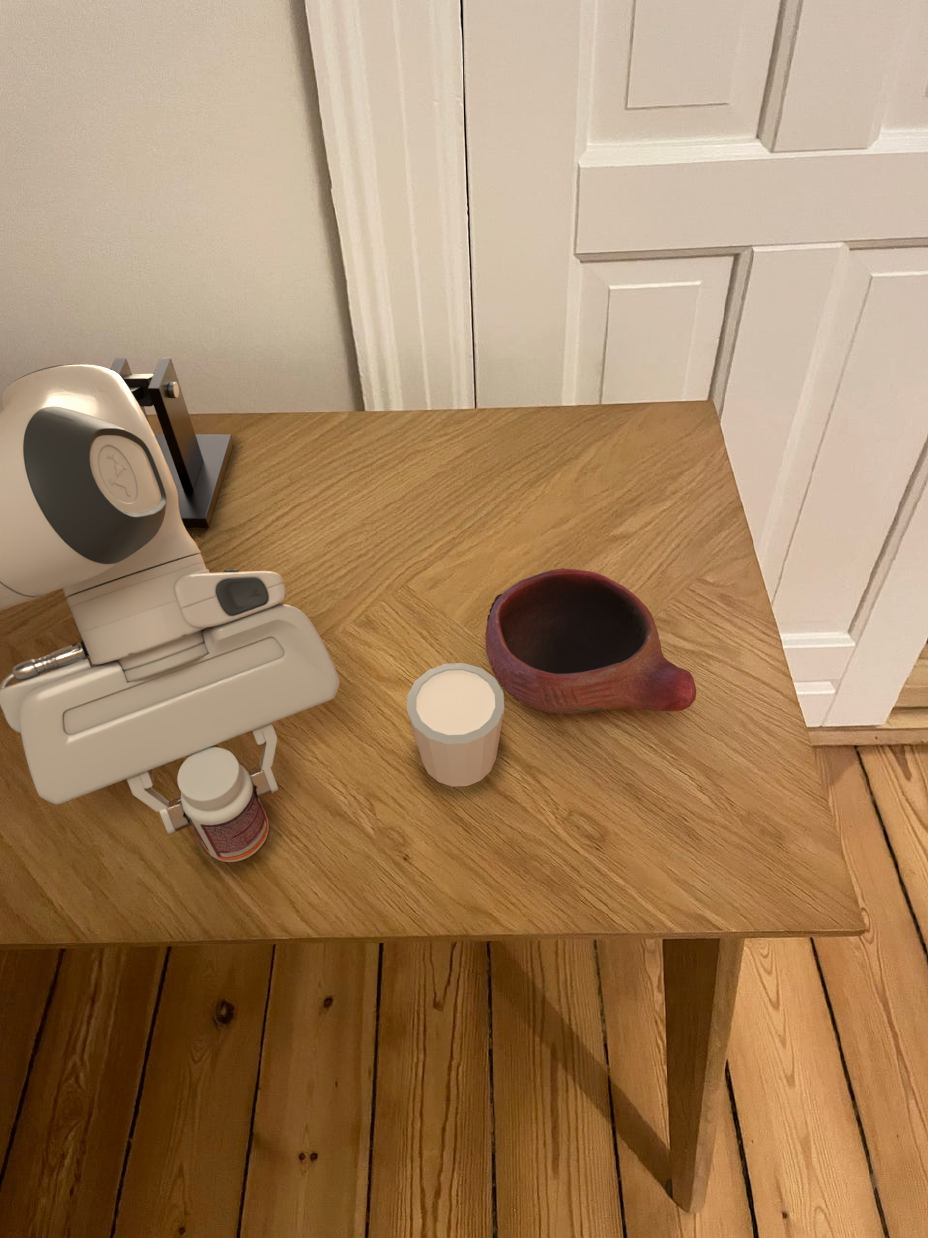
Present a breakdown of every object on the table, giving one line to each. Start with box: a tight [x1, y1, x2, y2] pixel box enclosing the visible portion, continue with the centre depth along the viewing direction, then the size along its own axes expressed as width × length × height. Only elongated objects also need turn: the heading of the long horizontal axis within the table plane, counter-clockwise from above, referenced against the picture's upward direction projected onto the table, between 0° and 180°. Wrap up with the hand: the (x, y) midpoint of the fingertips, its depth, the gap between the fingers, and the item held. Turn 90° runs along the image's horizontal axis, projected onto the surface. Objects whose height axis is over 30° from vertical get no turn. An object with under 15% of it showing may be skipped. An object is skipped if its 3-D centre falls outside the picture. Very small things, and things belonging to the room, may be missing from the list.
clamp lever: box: [123, 373, 154, 408], centre depth 78 cm, size 12×6×2 cm, turn 178°
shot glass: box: [406, 662, 505, 788], centre depth 68 cm, size 7×7×7 cm
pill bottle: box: [176, 746, 270, 863], centre depth 64 cm, size 5×5×8 cm
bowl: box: [485, 568, 697, 715], centre depth 72 cm, size 16×13×8 cm
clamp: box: [110, 357, 235, 529], centre depth 86 cm, size 12×9×13 cm
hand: (225, 810), depth 63 cm, fingers closed on pill bottle, 5 cm apart
